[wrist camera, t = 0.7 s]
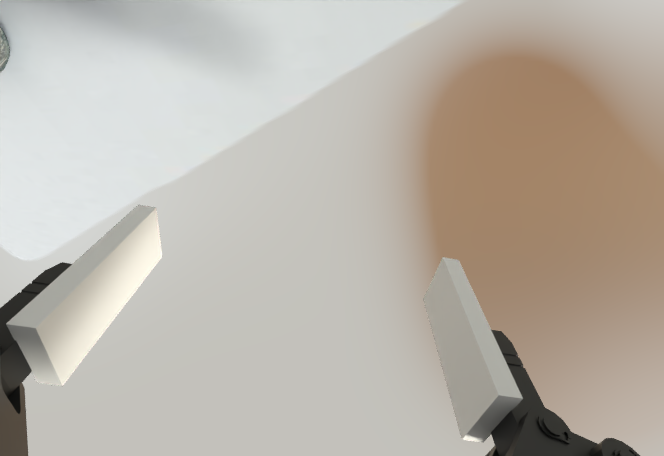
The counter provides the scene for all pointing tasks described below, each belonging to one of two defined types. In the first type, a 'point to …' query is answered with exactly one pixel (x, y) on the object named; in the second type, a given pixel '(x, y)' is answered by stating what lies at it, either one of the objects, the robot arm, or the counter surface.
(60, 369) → the robot arm
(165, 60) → the counter surface
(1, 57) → the mug
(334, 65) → the counter surface
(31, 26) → the counter surface
